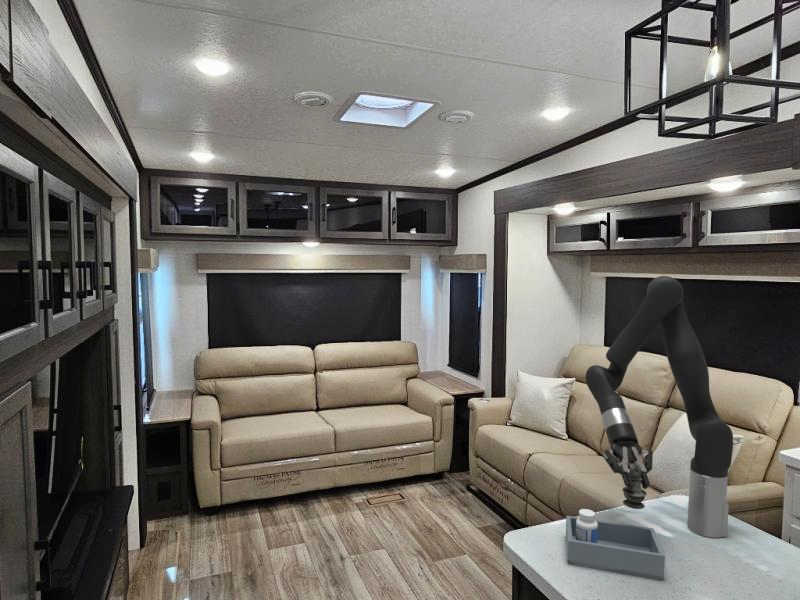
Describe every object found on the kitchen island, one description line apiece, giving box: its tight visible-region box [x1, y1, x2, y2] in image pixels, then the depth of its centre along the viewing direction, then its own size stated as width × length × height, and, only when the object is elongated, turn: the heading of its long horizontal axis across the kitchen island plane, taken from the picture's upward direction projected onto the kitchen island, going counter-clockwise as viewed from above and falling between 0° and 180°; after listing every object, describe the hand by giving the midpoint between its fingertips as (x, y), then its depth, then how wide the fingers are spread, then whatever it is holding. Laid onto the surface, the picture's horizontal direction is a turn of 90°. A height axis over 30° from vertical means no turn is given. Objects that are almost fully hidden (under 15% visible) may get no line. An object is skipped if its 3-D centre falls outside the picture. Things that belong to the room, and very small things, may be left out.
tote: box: [565, 515, 666, 581], centre depth 131 cm, size 22×14×6 cm, turn 74°
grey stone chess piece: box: [622, 461, 647, 510], centre depth 135 cm, size 6×6×12 cm
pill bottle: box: [576, 508, 598, 543], centre depth 133 cm, size 6×5×10 cm
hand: (638, 487), depth 133 cm, fingers closed on grey stone chess piece, 3 cm apart
